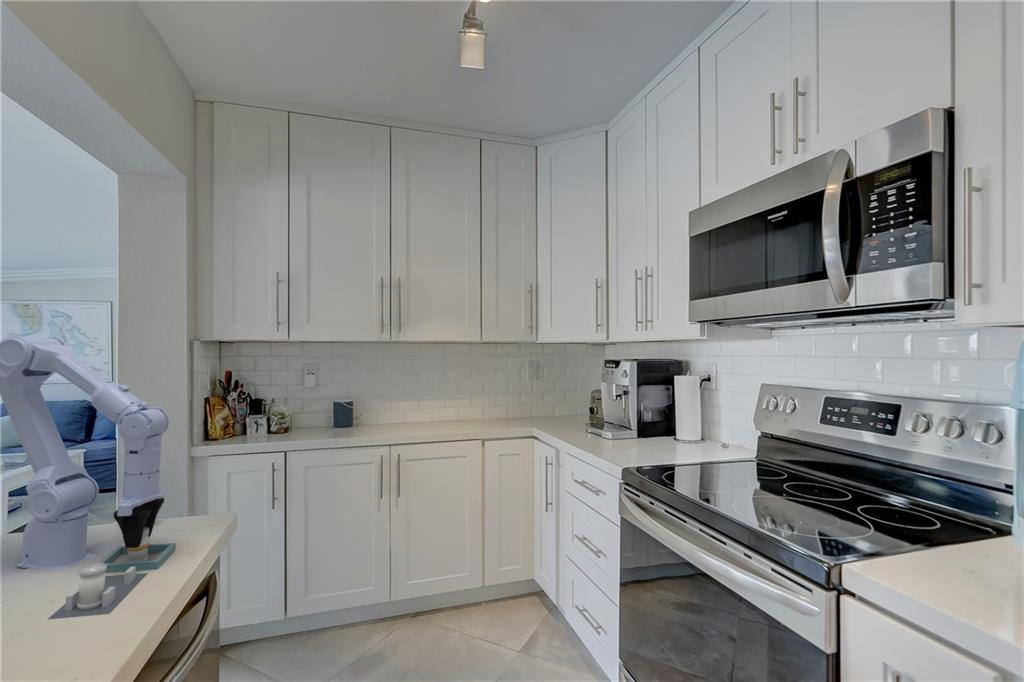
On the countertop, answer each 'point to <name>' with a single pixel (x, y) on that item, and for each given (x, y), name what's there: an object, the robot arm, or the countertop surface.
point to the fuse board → (112, 596)
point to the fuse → (91, 586)
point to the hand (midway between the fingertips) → (138, 542)
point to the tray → (140, 565)
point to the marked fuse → (139, 549)
